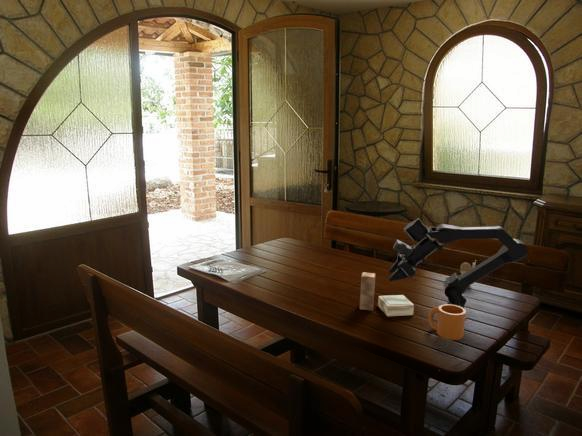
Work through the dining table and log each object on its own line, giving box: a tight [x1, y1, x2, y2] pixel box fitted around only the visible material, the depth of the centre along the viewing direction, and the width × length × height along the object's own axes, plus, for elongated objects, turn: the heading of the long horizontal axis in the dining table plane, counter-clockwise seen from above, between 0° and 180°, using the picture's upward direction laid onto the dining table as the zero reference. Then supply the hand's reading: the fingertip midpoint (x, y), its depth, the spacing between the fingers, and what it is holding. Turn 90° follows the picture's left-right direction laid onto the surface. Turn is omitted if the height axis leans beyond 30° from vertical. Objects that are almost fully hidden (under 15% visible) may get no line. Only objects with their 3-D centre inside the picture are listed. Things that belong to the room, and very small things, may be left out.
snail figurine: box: [459, 259, 477, 275], centre depth 207 cm, size 5×6×12 cm
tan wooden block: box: [359, 271, 376, 312], centre depth 180 cm, size 5×5×13 cm
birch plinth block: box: [377, 294, 415, 317], centre depth 179 cm, size 10×10×4 cm
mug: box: [427, 303, 467, 341], centre depth 161 cm, size 9×12×9 cm
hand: (389, 276), depth 178 cm, fingers open, 9 cm apart
